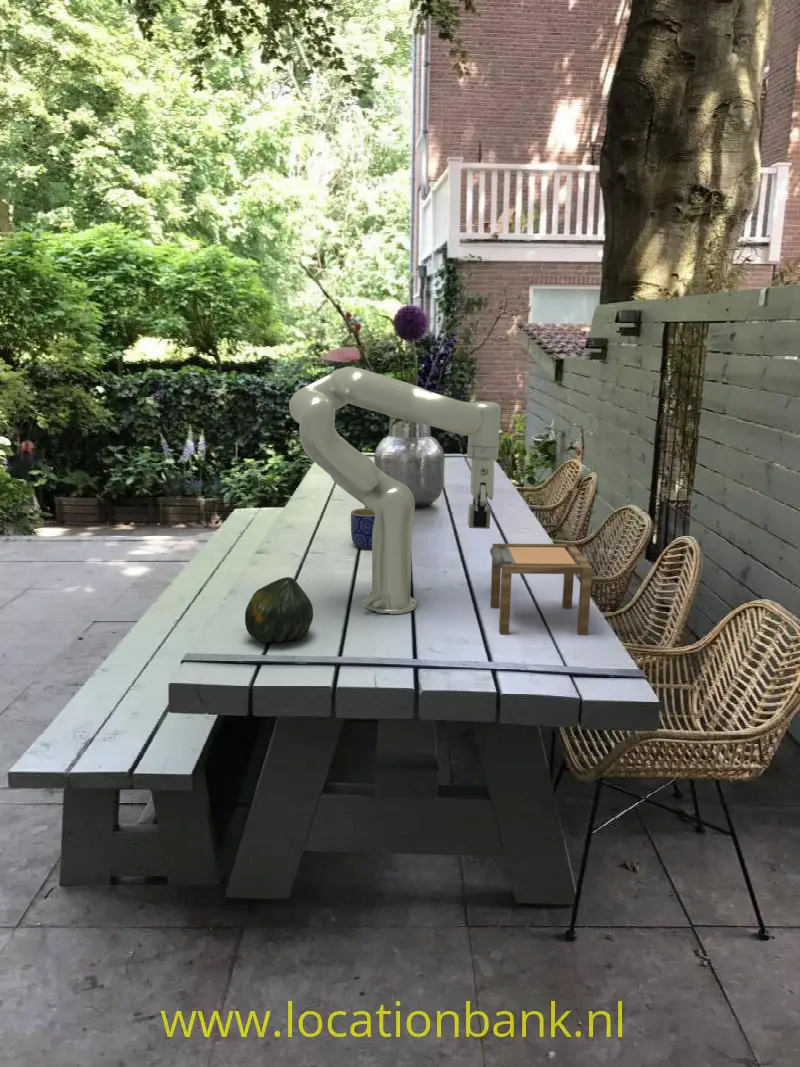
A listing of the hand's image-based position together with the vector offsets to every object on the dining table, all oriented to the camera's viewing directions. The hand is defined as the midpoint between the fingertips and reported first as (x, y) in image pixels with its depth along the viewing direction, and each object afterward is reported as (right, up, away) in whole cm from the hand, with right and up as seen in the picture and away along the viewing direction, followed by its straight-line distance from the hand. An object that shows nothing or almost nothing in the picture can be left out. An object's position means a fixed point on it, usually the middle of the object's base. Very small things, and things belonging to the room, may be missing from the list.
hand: (478, 523), depth 218 cm
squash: (-47, -26, -24) cm, 59 cm away
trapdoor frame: (+13, -23, -11) cm, 29 cm away
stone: (0, -1, 0) cm, 1 cm away
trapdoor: (+11, -9, -15) cm, 20 cm away
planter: (-30, -7, +51) cm, 59 cm away
